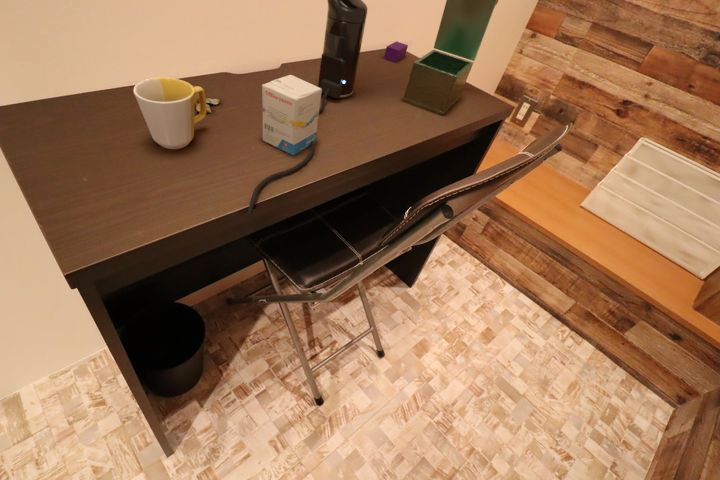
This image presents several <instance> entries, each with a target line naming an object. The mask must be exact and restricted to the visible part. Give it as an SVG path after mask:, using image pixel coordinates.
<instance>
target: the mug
mask: <svg viewBox="0 0 720 480" xmlns="http://www.w3.org/2000/svg"><path fill="white" fill-rule="evenodd" d="M192 85H193V84H191V83H190V82H187V81H185V80H182V79H179V78H175V77H166V76H165V77H161V76H160V77H151V78H147V79H143V80H141V81H139V82H138V83H136V84H135V85H134V87H133V91H132V92H133V94H134V97H135V99H136V102H137V104H138V107H139V109H140V112H141V114H142V116H143V118H144V122H145V123H146V126H147V129H148V130H149V134H150V135H151V139H152V140H153V141H154V142H155V143H157V144H158V145H160V147H162V148H164V149H169V150H179V149H184V148H185V147H187V146H188V145H189V144H190V143H191V141H192V140H193V139H194V137H195V125H196V124H198V123H199V122H202V120H204V119H205V118H206V116H207V113H206V104H207V103H206V98H207V97H206V93H205V90H204V88H203V87H201V86H199V85H198V86H197V85H195V86H196V87H193V86H192ZM196 93H199V99H200V112H198V114H197V115H195V108H196V106H195V94H196Z"/></svg>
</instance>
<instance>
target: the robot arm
mask: <svg viewBox="0 0 720 480" xmlns="http://www.w3.org/2000/svg"><path fill="white" fill-rule="evenodd" d="M326 2H327V16H326V24H325V32H324V39H323V50H322V53H321V57H320V64H319V65H320V66H319V75H318V84H317V87H319V88H321V89H322V92H321V95H322V97H321V101H320V109H319V114H321V113H322V112H323V111H324V109H325V102H326V98H327V97H328V98H331V99H333V100H336V101H338V100H340V99H349V98H351V97H352V96H353V93H354V87H355V81H356V75H357V71H358V65H359V59H360V54H361V48H362V43H363V37H364V32H365V27H366V21H367V18H368V17H367V16H368V5H367V4H366V3H365V2H364V1H363V0H327V1H326ZM498 2H499V0H497V2H496V5H495V7H496V6H497V5H498ZM314 152H315V143H314V142H313V141H312V142H311V143H310V149H309V153H308V154H307V156H306V157H305V158H304V159H303V160H302V161H301V162H299V163H298V164H296V165H295V166H293V167H291V168H288V169H286V170H282V171H279V172H276V173H273V174H271V175H269V176H267V177H266V178H264V179H263V180H262V181H261V182H260V183H258V184H257V185H256V187H255V189H253V192H252V195H251V198H250V202H249V205H248V208H247V215H251V214H252V213H253V210H254V208H255V204H256V200H257V197H258V194H259V192H260V191H261V189H262V188H263V187H264V186H265V185H266V184H267V183H269V182H270V181H272V180H275V179H277V178H280V177H283V176H287V175H289V174H292V173H294V172H297V171H298V170H299V169H301V168H302V167H303V166H304V165H306V164H307V163H308V162H309V161H310V160H311V158H312V157H313V155H314Z"/></svg>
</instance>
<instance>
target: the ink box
mask: <svg viewBox="0 0 720 480" xmlns="http://www.w3.org/2000/svg"><path fill="white" fill-rule="evenodd" d="M261 92H262V93H261V96H262V97H261V100H262V103H261V104H262V105H261V107H262V112H261V113H262V141H263V142H265V143H267V144H269V145H271V146H273V147H275V148H277V149H279V150H281V151H283V152H285V153H287V154H289V155H291V156H295V155H297V154H298V153H300V152H302V151H303V150H305V149H307V148H309V147H311V145H310V143H311V142H312V141H313V142H314V144H315V143H316V142H317V133H318V126H319V125H318V124H319V116H320V113H319V109H320V108H321V102H322V94H321V92H322V89H321V88H319V87H318V85H314V84H312V83H310V82H308V81H306V80H304V79H301V78H299V77H297V76H295V75H292V74H288V75H285V76H282V77H279V78H276V79H273V80H271V81H269V82H266V83H263V84H261Z"/></svg>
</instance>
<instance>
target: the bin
mask: <svg viewBox="0 0 720 480" xmlns="http://www.w3.org/2000/svg"><path fill="white" fill-rule="evenodd" d="M473 65H474V61H471V60H469V59H465V58H462V57H459V56H456V55H453V54H450V53H447V52H444V51H441V50H437V49H432V50H430V51H429V52H427V53H426V54H425V55H423V56H422V57H421V56H420V57H419V58H418V59H416V60H415V61H414V62H413V64H412V67H411V71H410V73H409V74H410V75H409V78H408V80H407V81H408V82H407V85H406V89H405V92H404V94H403V95H404V96H403V99H402V102H404V103H408V104H410V105H413V106H416V107H418V108H421V109H423V110H426V111H429V112H432V113H433V114H434V113H435V114H437V115H440V116H445V114H446V113H447V112H448V111H449V110H451V108H452V107H453V106H454V105H455V104H456V103H457V102H458V101H459V100H460V98H461V96H462V92H463V90H464V88H465V85H466V83H467V80H468V77H469V75H470V72H471V70H472V68H473Z"/></svg>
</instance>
